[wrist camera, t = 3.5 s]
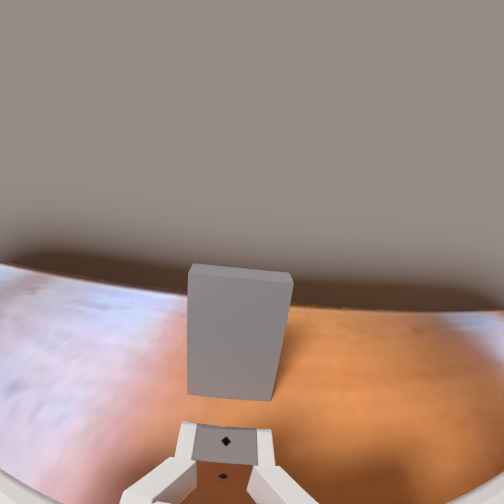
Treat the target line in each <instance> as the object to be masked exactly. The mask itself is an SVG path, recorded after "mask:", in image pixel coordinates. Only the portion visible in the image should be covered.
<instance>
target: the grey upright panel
mask: <svg viewBox="0 0 504 504" xmlns="http://www.w3.org/2000/svg"><path fill="white" fill-rule="evenodd" d="M292 289H293V281H292V278H291V276H290V273H284V272H274V271H263V270H252V269H243V268H232V267H222V266H213V265H203V264H193V265H192V267H191V269H190V271H189V273H188V302H187V386H188V394H191V395H198V396H207V397H216V398H227V399H239V400H255V401H271V397H272V392H273V388H274V383H275V378H276V374H277V369H278V364H279V359H280V354H281V349H282V344H283V339H284V334H285V328H286V323H287V318H288V312H289V307H290V301H291V295H292Z"/></svg>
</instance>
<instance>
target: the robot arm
mask: <svg viewBox="0 0 504 504" xmlns="http://www.w3.org/2000/svg"><path fill="white" fill-rule="evenodd" d="M197 485H200V486H211V487H224V488H235V489H247V492H248V493H249V494H250V496H251V497H252V498H253V500H254V501H255V502H256V504H319V503H318V502H317V501H315V500H314V499H313V498H312V497H311V496H310V495H309V494H308V493H307V492H306V491H305V490H304V489H303V488H302V487H301V486H299V485H298V484H297V483H296V482H295V481H294V480H293V479H292V478H291V477H290V476H289V475H288V474H287V473H286V472H285V471H284V470H283V469H282V468H281V466H276V465H275V456H274V447H273V438H272V431H271V429H255V428H238V427H221V426H213V425H206V424H199V423H192V422H186V421H183V422H182V424H181V428H180V432H179V437H178V442H177V447H176V451H175V456H174V457H169V458H168V459H166V460H165V461H164V462H162V463H161V464H160V465H159V466H157V467H156V468H155V469H153V470H152V471H151V472H149V473H148V474H147V475H145V476H144V477H143V478H141V479H140V480H139V481H137V482H136V483H134V484H133V485H132V486H130V487H129V488H127V489H126V490H125V491H123V494H122V497H121V500H120V504H181V503H182V502H183V501H184V500H185V499H186V497H187V496H188V495H189V494H190V493H191V492H192V491H193V490H194V489H195V488H196V487H197ZM0 504H63V503H61V502H59V501H57V500H54V499H52V498H50V497H48V496H46V495H44V494H43V493H41V492H39V491H37V490H35V489H33V488H31V487H30V486H28V485H26V484H24V483H23V482H21V481H19V480H18V479H16V478H14V477H13V476H11V475H10V474H8V473H7V472H5V471H4V470H2V469H1V468H0ZM445 504H504V471H503V472H501V473H500V474H498V475H497V476H495V477H494V478H492V479H490V480H489V481H487V482H485V483H484V484H482V485H480V486H478V487H477V488H475V489H473V490H471V491H469V492H467V493H466V494H464V495H462V496H460V497H458V498H456V499H454V500H452V501H450V502H447V503H445Z"/></svg>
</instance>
